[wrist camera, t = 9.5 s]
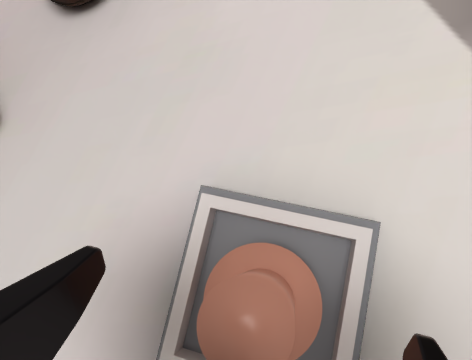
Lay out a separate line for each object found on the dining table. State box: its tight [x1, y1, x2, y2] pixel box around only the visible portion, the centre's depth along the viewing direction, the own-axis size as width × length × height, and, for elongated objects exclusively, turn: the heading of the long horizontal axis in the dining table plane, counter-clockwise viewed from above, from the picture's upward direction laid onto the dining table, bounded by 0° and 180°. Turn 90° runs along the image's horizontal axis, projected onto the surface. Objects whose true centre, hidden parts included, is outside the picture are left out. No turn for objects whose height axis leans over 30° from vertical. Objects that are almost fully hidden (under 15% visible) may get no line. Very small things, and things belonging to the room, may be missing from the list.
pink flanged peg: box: [197, 243, 322, 360], centre depth 16 cm, size 6×6×9 cm
